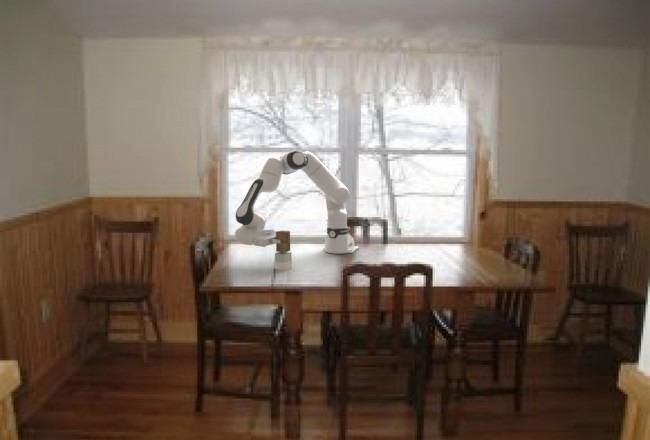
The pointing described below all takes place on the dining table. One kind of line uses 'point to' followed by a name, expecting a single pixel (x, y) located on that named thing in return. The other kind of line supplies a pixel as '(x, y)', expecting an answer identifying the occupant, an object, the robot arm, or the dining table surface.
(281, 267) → the tower base
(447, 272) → the dining table surface
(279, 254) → the tower mid
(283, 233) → the walnut pillar
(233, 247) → the dining table surface
